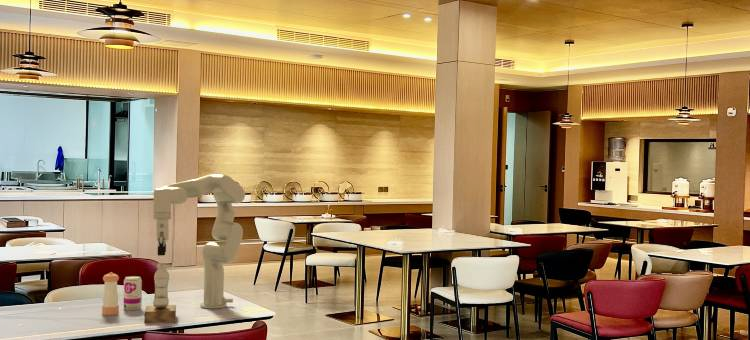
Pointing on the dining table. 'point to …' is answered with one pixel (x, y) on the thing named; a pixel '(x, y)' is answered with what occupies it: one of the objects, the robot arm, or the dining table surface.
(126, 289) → the supplement can
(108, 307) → the pepper shaker
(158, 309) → the walnut block
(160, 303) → the plastic bottle
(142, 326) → the dining table surface
